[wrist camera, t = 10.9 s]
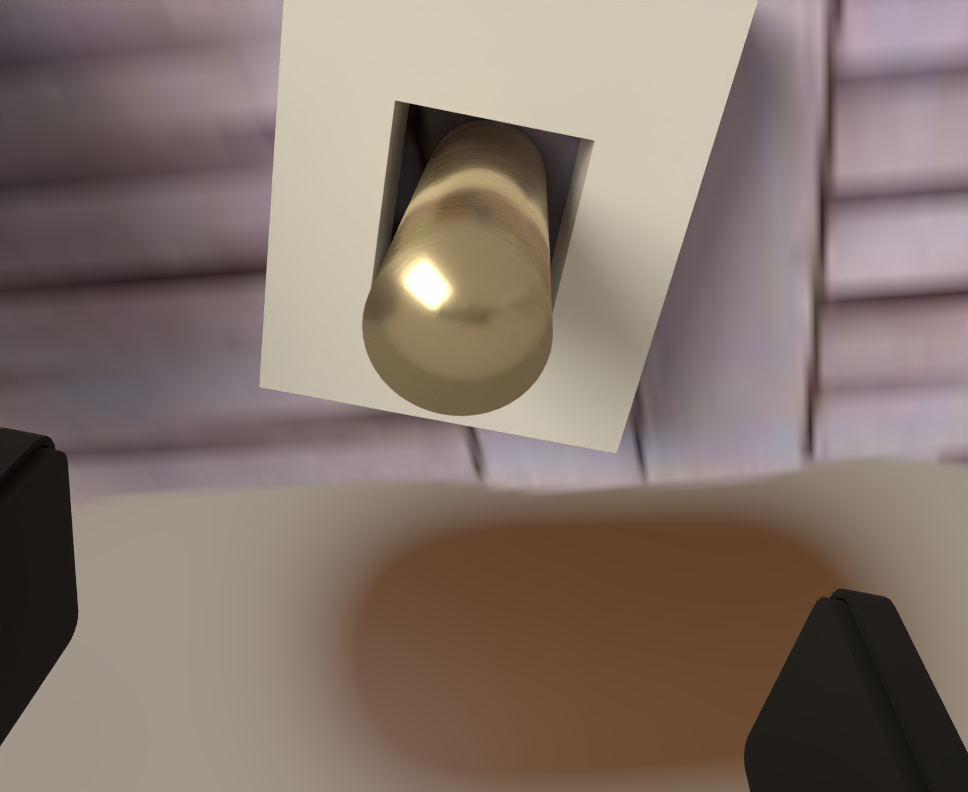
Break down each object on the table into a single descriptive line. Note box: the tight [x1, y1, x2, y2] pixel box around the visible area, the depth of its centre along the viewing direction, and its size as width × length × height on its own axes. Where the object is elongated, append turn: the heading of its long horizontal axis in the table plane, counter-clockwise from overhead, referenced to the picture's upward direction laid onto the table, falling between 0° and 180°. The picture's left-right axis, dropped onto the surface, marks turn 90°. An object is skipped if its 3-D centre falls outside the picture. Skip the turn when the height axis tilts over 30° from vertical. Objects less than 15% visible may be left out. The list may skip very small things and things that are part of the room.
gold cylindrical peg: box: [362, 120, 553, 416], centre depth 23 cm, size 4×4×12 cm
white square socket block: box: [259, 0, 758, 453], centre depth 27 cm, size 12×14×4 cm
